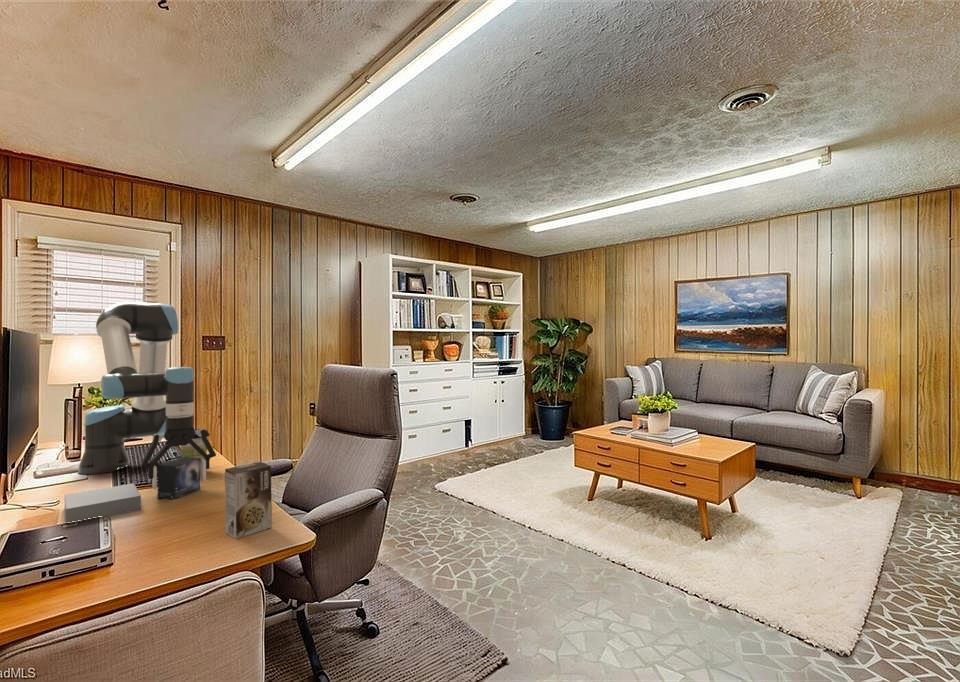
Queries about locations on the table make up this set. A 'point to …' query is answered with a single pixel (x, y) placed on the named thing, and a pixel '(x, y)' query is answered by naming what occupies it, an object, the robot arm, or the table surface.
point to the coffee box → (248, 499)
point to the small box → (178, 477)
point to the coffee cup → (190, 451)
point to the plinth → (102, 502)
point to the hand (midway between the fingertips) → (179, 484)
